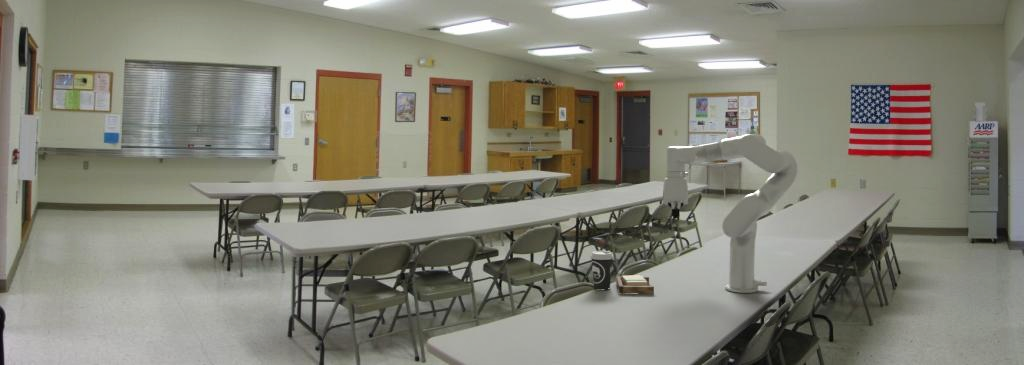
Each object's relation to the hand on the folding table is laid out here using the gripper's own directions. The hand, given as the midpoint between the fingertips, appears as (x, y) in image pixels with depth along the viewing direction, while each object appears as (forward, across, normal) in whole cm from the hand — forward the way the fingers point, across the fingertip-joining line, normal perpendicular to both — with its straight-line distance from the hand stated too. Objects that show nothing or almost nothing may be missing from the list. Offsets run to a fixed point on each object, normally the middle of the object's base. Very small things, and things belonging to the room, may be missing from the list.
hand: (675, 217), depth 281 cm
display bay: (+27, +18, +16) cm, 36 cm away
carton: (+28, +19, +16) cm, 37 cm away
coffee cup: (+27, +32, +16) cm, 45 cm away
